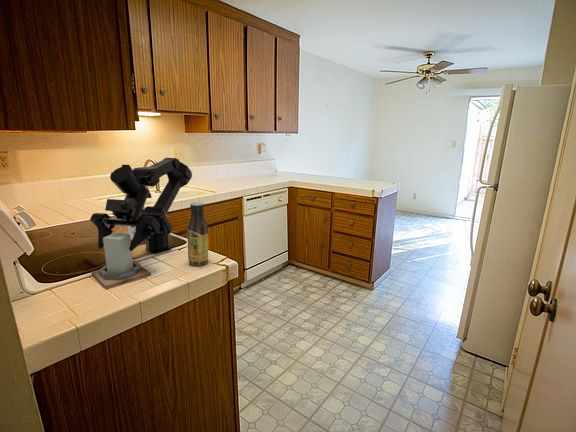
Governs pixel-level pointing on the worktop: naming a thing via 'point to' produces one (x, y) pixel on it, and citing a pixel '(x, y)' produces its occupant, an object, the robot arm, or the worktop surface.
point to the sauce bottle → (197, 236)
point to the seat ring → (120, 276)
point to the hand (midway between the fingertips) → (114, 249)
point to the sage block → (118, 253)
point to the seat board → (113, 283)
